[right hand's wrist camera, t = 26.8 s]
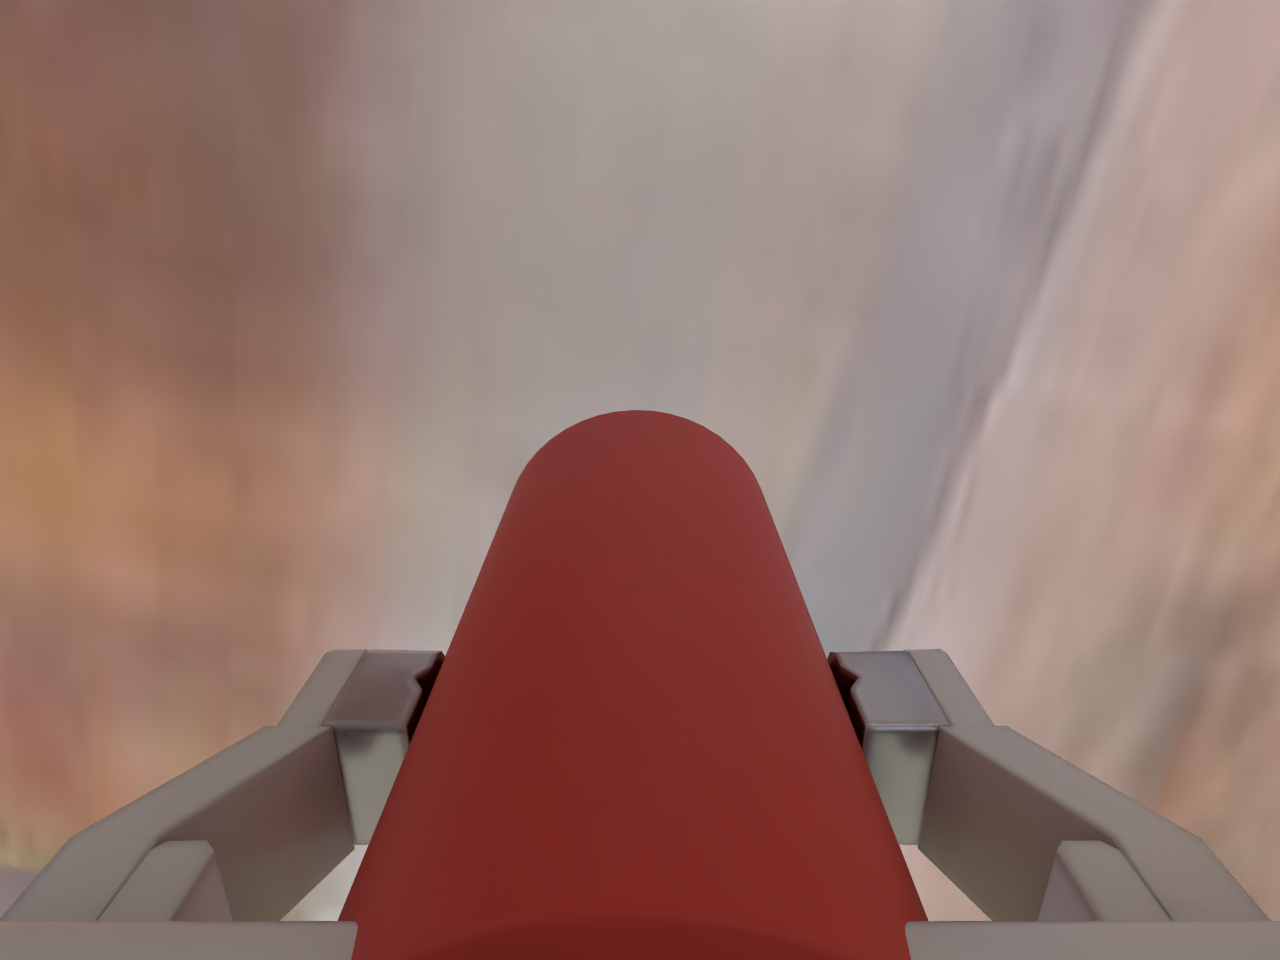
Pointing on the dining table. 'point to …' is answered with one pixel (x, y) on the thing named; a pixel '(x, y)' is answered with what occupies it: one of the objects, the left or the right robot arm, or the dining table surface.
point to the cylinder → (634, 736)
